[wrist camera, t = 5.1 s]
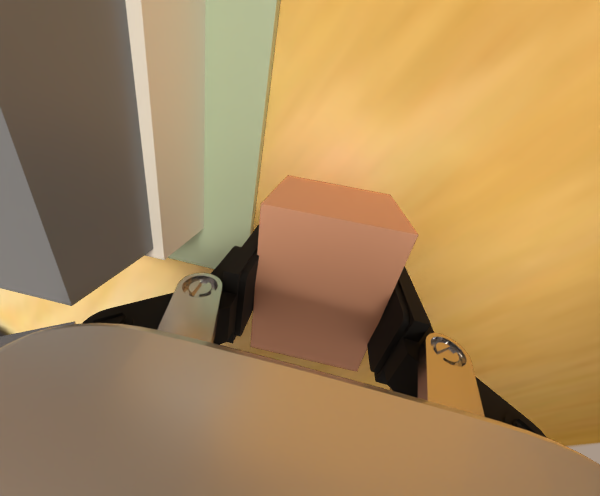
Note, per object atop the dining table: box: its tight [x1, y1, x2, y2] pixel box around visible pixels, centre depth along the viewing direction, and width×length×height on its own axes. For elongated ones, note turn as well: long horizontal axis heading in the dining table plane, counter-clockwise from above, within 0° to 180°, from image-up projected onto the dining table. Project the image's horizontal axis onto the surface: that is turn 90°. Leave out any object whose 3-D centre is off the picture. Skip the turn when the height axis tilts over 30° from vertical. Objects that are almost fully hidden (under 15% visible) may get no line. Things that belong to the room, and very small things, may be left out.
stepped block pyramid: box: [0, 0, 281, 306], centre depth 9 cm, size 18×18×9 cm
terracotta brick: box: [251, 175, 418, 371], centre depth 11 cm, size 5×7×4 cm
